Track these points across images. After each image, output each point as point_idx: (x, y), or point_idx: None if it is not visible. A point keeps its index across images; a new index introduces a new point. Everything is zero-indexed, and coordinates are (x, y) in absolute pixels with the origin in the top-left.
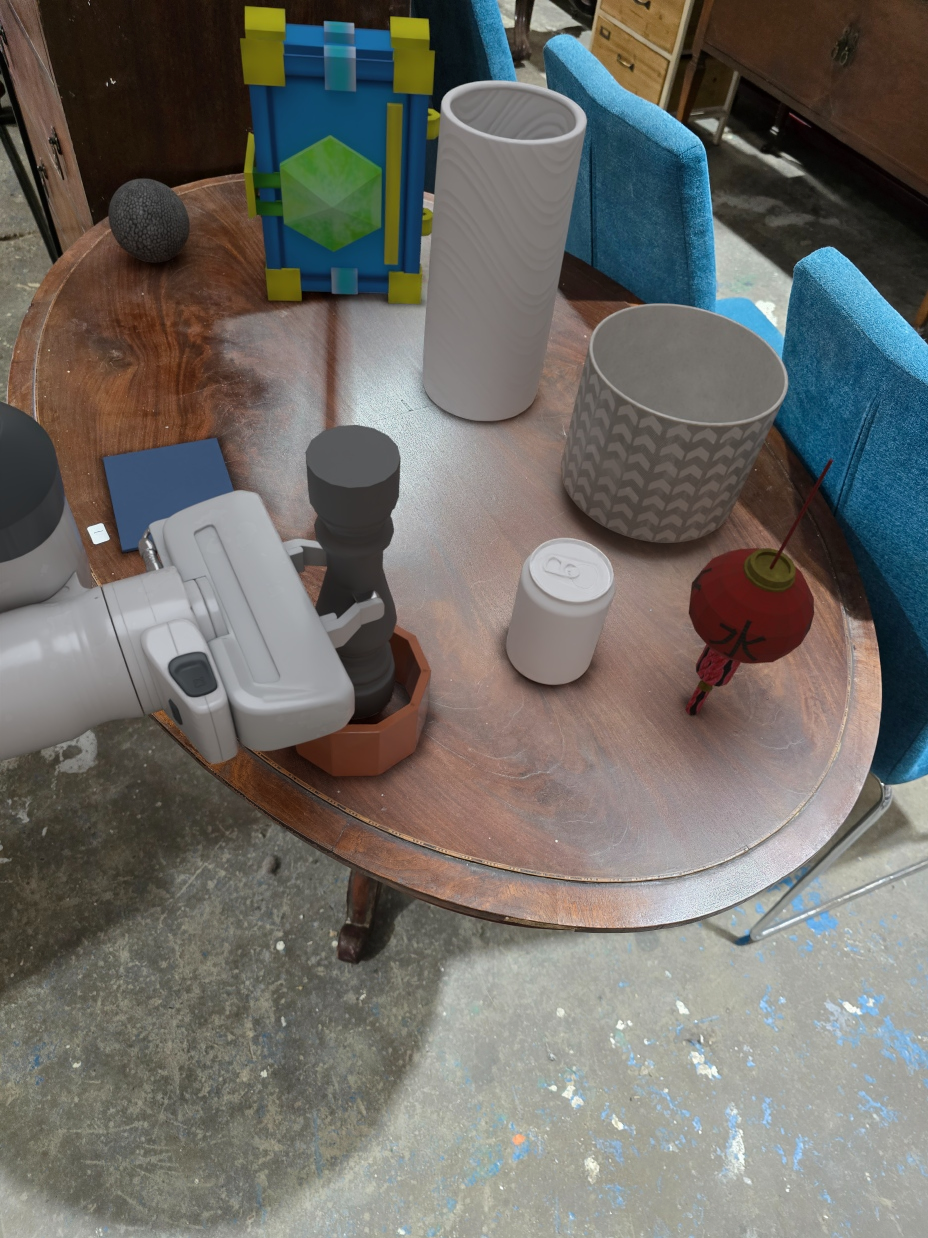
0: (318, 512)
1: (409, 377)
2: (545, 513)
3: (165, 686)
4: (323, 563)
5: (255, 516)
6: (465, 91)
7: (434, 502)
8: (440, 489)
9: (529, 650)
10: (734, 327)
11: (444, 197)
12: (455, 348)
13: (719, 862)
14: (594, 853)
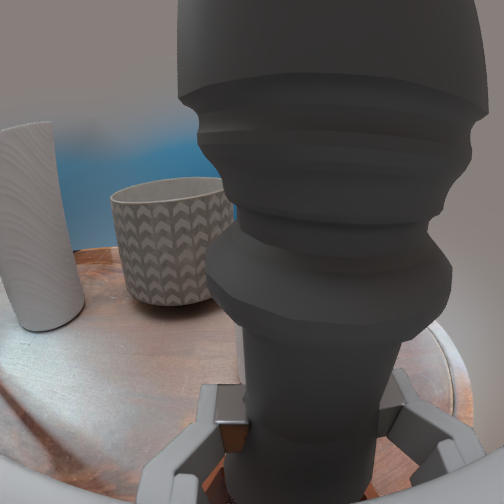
0: (468, 86)
1: (14, 331)
2: (156, 329)
3: None
4: (216, 459)
5: (22, 499)
6: None
7: (95, 375)
8: (89, 366)
9: None
10: (163, 182)
11: None
12: (32, 280)
13: (436, 341)
14: (436, 393)
